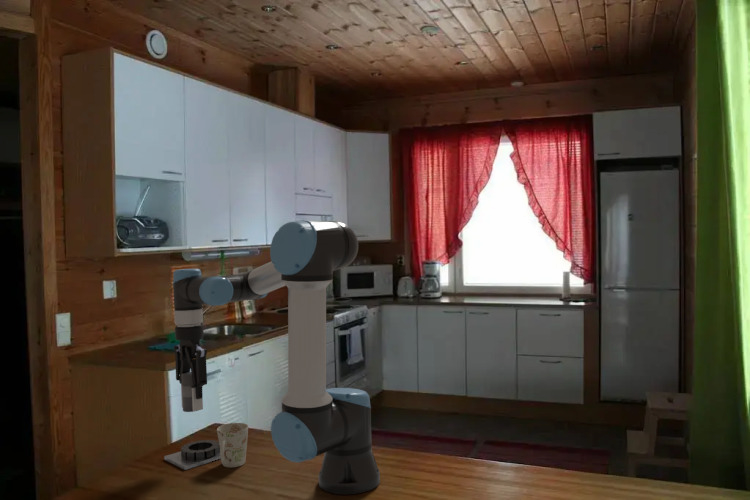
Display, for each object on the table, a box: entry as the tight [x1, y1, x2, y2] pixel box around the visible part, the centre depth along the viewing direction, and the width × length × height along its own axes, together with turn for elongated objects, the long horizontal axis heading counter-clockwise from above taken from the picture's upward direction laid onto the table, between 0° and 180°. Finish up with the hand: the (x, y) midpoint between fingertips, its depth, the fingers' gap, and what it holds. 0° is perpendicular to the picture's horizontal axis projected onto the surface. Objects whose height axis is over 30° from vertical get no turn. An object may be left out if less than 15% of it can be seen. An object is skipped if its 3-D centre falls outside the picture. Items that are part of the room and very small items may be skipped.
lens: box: [181, 371, 195, 413], centre depth 169 cm, size 5×5×10 cm
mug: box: [216, 422, 249, 468], centre depth 165 cm, size 8×13×10 cm, turn 174°
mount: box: [163, 439, 221, 471], centre depth 173 cm, size 12×16×3 cm
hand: (192, 408), depth 169 cm, fingers closed on lens, 5 cm apart
